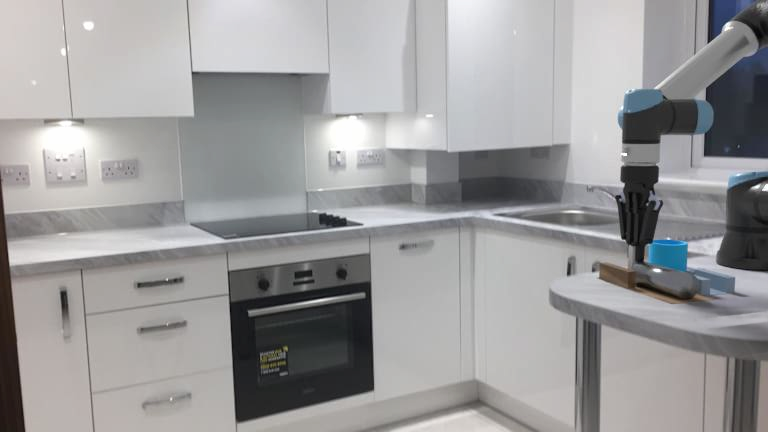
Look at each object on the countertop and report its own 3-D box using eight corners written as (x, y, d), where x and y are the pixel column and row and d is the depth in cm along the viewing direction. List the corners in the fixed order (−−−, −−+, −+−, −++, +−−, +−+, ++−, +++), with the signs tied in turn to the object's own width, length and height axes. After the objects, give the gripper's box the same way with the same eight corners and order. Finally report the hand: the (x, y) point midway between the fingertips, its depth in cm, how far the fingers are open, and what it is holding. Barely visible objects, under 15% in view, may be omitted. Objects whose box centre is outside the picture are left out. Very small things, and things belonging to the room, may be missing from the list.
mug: (679, 283, 155) (681, 246, 154) (642, 278, 160) (643, 242, 159) (696, 273, 164) (697, 239, 163) (660, 269, 169) (662, 236, 168)
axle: (630, 285, 147) (630, 261, 146) (650, 283, 148) (650, 259, 147) (677, 300, 133) (677, 275, 133) (698, 298, 135) (699, 272, 134)
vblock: (699, 288, 149) (700, 268, 148) (736, 299, 140) (737, 277, 139) (668, 291, 147) (669, 270, 146) (703, 303, 137) (704, 280, 137)
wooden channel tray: (634, 280, 157) (635, 259, 156) (714, 306, 134) (715, 281, 134) (596, 284, 154) (596, 262, 154) (670, 311, 131) (672, 285, 131)
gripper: (605, 162, 151) (601, 270, 154) (644, 166, 138) (639, 283, 141) (635, 162, 153) (630, 268, 156) (676, 165, 140) (670, 280, 144)
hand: (634, 275), depth 149 cm, fingers closed
